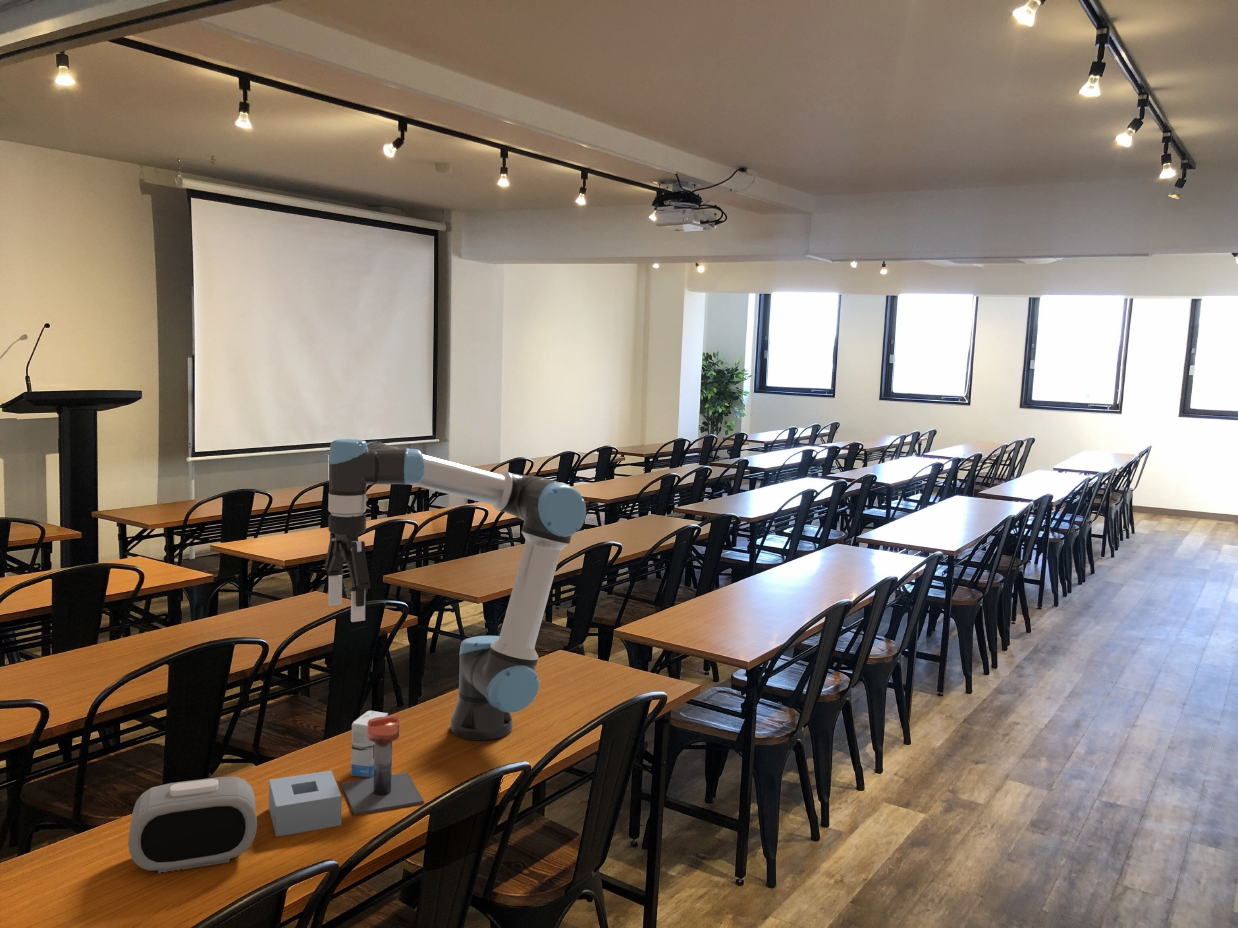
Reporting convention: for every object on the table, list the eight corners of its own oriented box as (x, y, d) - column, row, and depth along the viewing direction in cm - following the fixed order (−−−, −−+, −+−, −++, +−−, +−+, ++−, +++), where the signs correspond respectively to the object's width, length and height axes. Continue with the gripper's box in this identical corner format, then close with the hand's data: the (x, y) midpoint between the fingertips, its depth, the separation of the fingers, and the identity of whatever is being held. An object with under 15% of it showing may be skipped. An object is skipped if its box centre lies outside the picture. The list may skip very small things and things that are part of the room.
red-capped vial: (373, 801, 189) (374, 725, 188) (361, 788, 195) (362, 715, 193) (402, 793, 193) (404, 719, 192) (390, 781, 198) (392, 709, 197)
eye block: (331, 798, 191) (331, 770, 191) (341, 825, 181) (341, 795, 180) (269, 808, 186) (269, 779, 185) (275, 836, 175) (276, 806, 175)
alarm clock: (128, 881, 159) (127, 806, 157) (132, 853, 168) (131, 782, 166) (257, 860, 167) (257, 789, 166) (254, 834, 176) (255, 767, 174)
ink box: (370, 778, 201) (371, 726, 200) (349, 775, 202) (350, 723, 201) (388, 762, 209) (389, 712, 208) (368, 759, 210) (368, 709, 209)
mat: (407, 774, 203) (407, 772, 203) (423, 803, 191) (423, 800, 191) (341, 785, 197) (341, 782, 197) (354, 815, 185) (354, 812, 185)
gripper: (387, 522, 186) (386, 625, 188) (343, 503, 206) (342, 596, 208) (351, 524, 182) (350, 630, 184) (310, 505, 202) (309, 600, 204)
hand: (346, 612), depth 196 cm, fingers open, 13 cm apart
